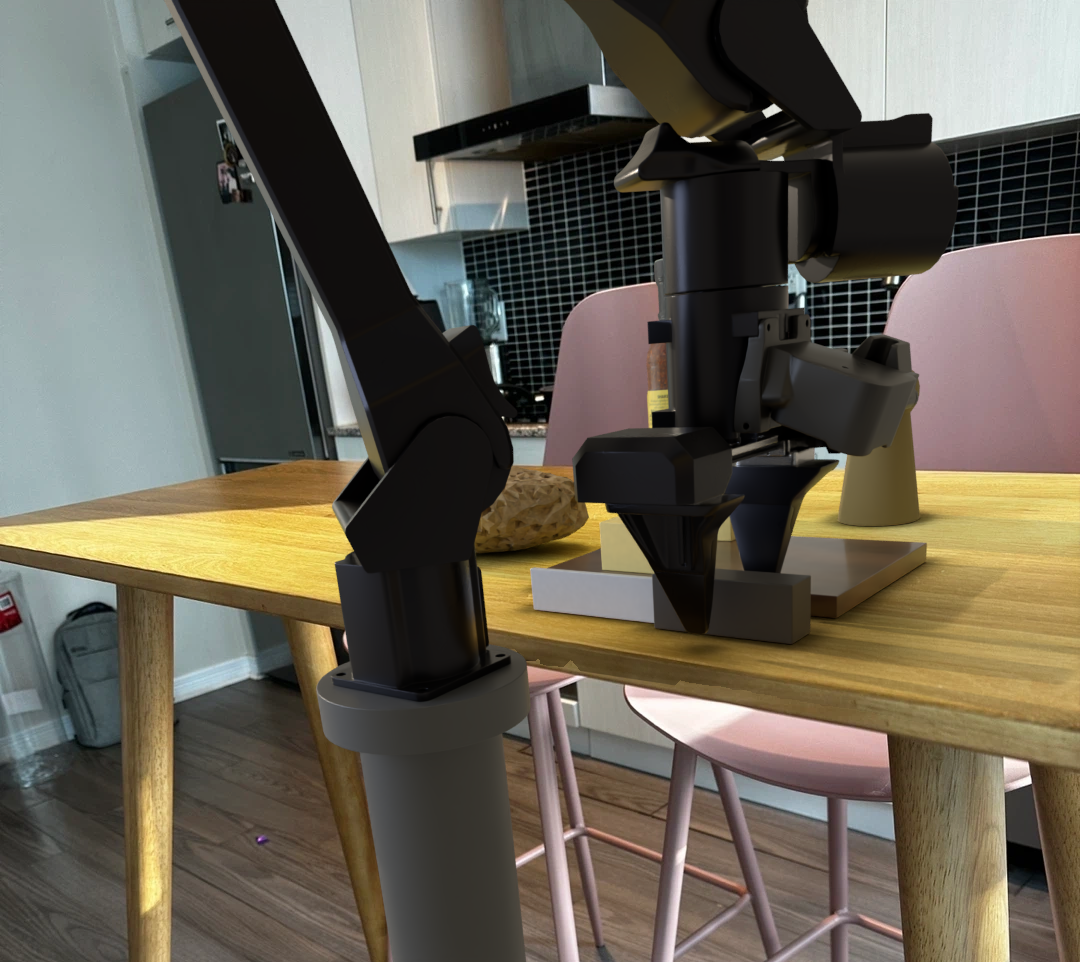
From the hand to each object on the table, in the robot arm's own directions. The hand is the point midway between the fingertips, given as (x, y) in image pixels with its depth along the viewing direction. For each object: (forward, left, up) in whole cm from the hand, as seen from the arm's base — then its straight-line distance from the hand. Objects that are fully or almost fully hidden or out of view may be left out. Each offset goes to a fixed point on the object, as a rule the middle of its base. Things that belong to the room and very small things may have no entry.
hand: (731, 614), depth 53 cm
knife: (0, +5, -1) cm, 5 cm away
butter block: (+8, +10, 0) cm, 13 cm away
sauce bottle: (+27, +18, -1) cm, 32 cm away
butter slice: (+16, +10, 0) cm, 19 cm away
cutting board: (+11, +6, -1) cm, 13 cm away
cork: (+31, +4, -1) cm, 31 cm away
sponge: (+13, +30, -1) cm, 33 cm away
